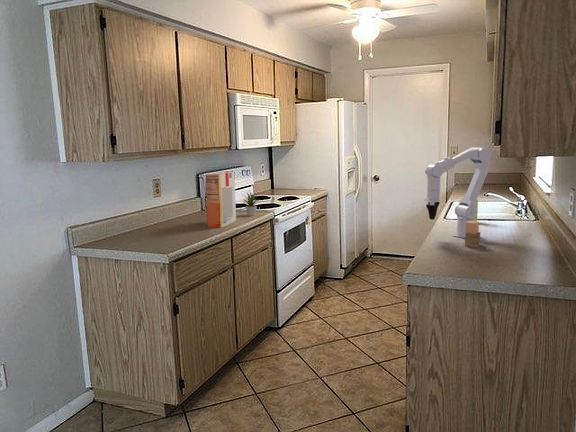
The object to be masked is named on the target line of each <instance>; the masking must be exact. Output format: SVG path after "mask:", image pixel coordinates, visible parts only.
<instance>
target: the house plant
mask: <svg viewBox="0 0 576 432" xmlns="http://www.w3.org/2000/svg"><path fill="white" fill-rule="evenodd" d="M249 193H250V194H249ZM249 193H248V192H246V195H247V196H246V195H244V194H242V196H243V197H245V199H243V203H244V204H246V205H245V210H246V214H247V215H246V216H248V217H255V216H256V214H257V213H256V212H257V205H256V203H258V202H260V200H261V199H257V198H258V197H259V196H260V194H261V193H263V192H258V193H256V192H253V193H252V192H251V191H249Z"/></svg>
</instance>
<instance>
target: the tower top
mask: <svg viewBox="0 0 576 432" xmlns="http://www.w3.org/2000/svg"><path fill="white" fill-rule="evenodd" d="M465 240H467V241H479V242H480V240H481V231H478V233H477V234H468V233H466V236H465V238H464V241H465Z"/></svg>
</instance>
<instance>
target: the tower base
mask: <svg viewBox="0 0 576 432" xmlns="http://www.w3.org/2000/svg"><path fill="white" fill-rule="evenodd" d="M464 247H469V248H480V241H467V240H465V239H464Z"/></svg>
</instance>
